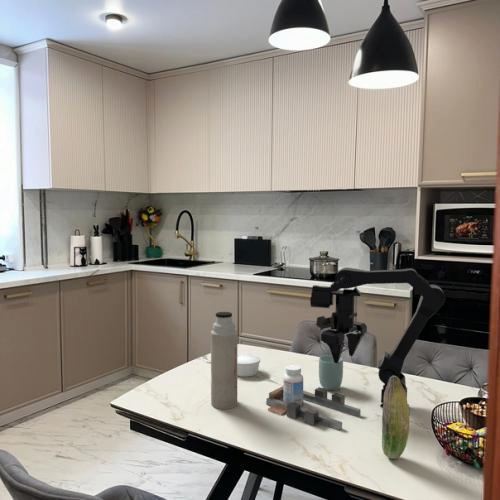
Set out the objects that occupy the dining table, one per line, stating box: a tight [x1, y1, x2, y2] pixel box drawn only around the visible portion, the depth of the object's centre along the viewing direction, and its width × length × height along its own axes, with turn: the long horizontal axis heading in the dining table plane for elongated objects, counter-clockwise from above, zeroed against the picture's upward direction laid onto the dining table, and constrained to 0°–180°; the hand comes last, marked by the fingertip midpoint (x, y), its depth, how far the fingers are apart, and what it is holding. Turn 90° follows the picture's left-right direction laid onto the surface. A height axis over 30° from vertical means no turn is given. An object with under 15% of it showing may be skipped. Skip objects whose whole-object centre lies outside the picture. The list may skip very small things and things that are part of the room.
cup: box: [318, 354, 344, 391], centre depth 150 cm, size 8×8×10 cm
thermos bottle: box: [210, 311, 238, 410], centre depth 137 cm, size 8×8×28 cm
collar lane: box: [265, 385, 362, 431], centre depth 134 cm, size 25×18×4 cm
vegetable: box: [381, 376, 410, 460], centre depth 107 cm, size 6×6×20 cm
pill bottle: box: [282, 364, 304, 406], centre depth 138 cm, size 6×6×11 cm
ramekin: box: [237, 353, 261, 378], centre depth 165 cm, size 11×11×5 cm
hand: (343, 359), depth 140 cm, fingers open, 9 cm apart
